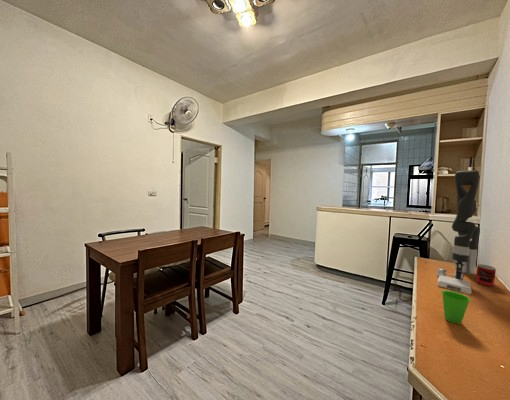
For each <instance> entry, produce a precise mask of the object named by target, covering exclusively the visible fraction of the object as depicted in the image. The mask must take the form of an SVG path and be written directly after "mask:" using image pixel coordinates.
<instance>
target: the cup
mask: <svg viewBox="0 0 510 400" xmlns="http://www.w3.org/2000/svg"><path fill="white" fill-rule="evenodd" d="M441 294H442V301H443V303H442V304H443V311H444V312H443V313H444V318H446V319H445V320H446V321H447V320H448V321H447V322H449V321H450V322H449V323H451V322H453V323H452V324H454V323H458V324H457V325H460V324H459V323H461V324H462V322H463V319H464V318H465V314H466V311H467V308H468V306H469V302H471V298H470V297H468V296H467V295H464V294H463V293H460V292H458V291H454V290H445V289H444V290H442V291H441Z"/></svg>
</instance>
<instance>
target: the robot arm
mask: <svg viewBox="0 0 510 400" xmlns="http://www.w3.org/2000/svg"><path fill="white" fill-rule="evenodd" d="M454 183H455V188H456V189H455V190H456V209H457V212H456V216H455V219H454V220H453V223H452V224H451V229H452V231H453V232H457V235H455V236H454V241H453V247H452V255H451V259H452V260H453V261H455V263H454V267H455V268H454V270H455V272H456V279H460V280H461V275H462V273H463V274H468V275H475V273H476V268H477V267H476V265H477V257H478V249H479V248H478V247H479V238H480V235H481V234H480V233H481V228H480V227H479V226H478V225H476V224H475V223H474V222H472V221H468V220H469V219H470V218H472V217H473V216H474V214H475V213H476V212H477V201H476V196H477V192H478V187H479V183H480V172H479V171H478V170H476V169H474V170H460V171H459V170H458V171H456V172H455V174H454ZM464 186H470V188H469V189H468V191H467V190H466V189H465V187H464Z"/></svg>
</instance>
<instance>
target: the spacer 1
mask: <svg viewBox="0 0 510 400" xmlns="http://www.w3.org/2000/svg"><path fill="white" fill-rule="evenodd" d="M436 272H437V273H436V277H437V278H439V276H440V275H443V276H447V269H445V268H441V267H438V268H437V270H436Z"/></svg>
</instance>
